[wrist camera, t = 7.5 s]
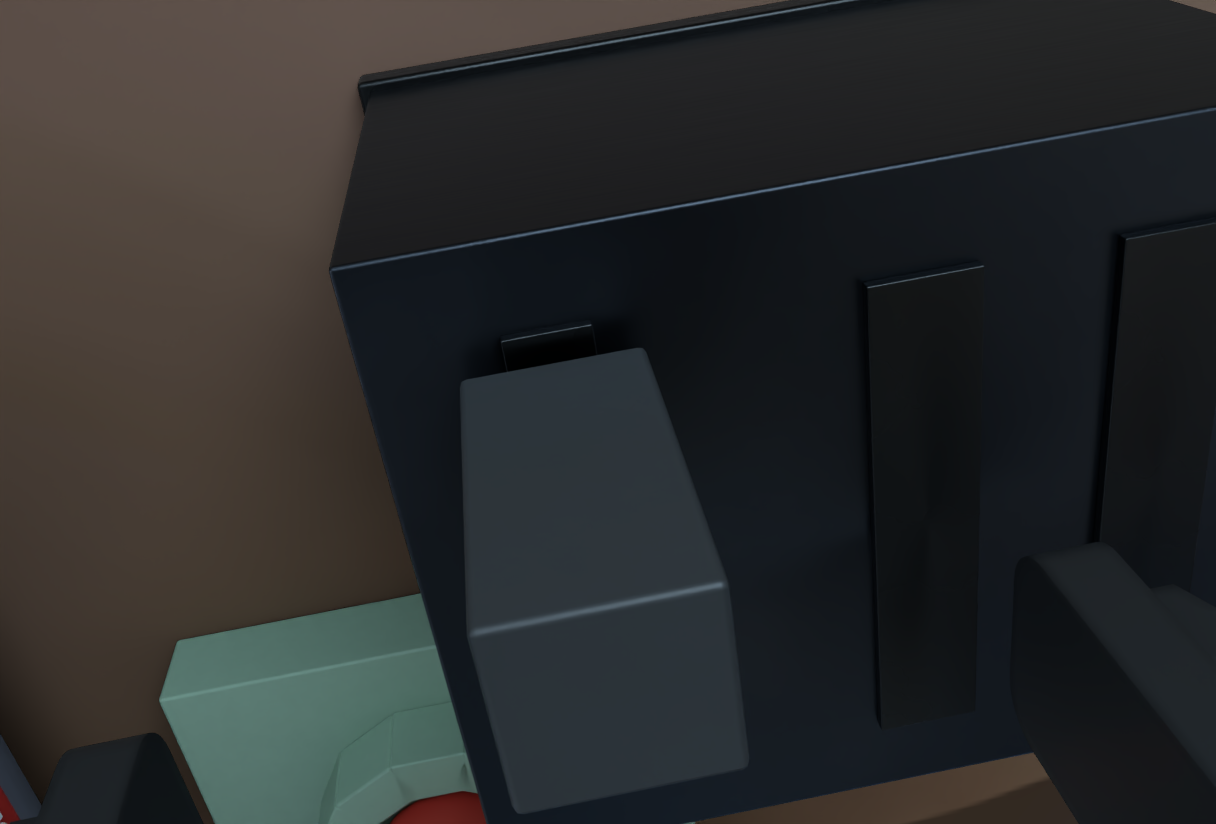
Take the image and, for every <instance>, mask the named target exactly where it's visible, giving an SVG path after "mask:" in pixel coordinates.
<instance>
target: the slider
mask: <svg viewBox="0 0 1216 824" xmlns="http://www.w3.org/2000/svg"><path fill="white" fill-rule="evenodd" d="M460 415H461V450H462V485H463V520H464V555H465V590H466V625H467V638H468V642H469V646H470V650H471V653H472V657H473V661H474V665H475V668H476V672H477V676H478V680H479V683H480V687H481V691H482V695H483V698H484V702H485V706H486V710H487V713H488V717H489V721H490V725H491V728H492V732H493V736H494V740H495V744H496V747H497V751H498V755H499V759H500V762H501V766H502V770H503V774H504V777H505V781H506V785H507V789H508V792H509V796H510V800H511V804H512V807H513V808H514V810H515V811H516V812H517V813H518V814H527V813H532V812H537V811H542V810H547V809H552V808H557V807H562V806H567V805H572V804H577V803H582V802H587V801H592V800H596V799H601V798H606V797H611V796H616V795H621V794H626V793H631V792H636V791H641V790H646V789H651V788H656V787H661V786H665V785H670V784H675V783H680V782H685V781H690V780H695V779H700V778H705V777H710V776H715V775H720V774H725V773H730V772H735V771H739V770H743V769H745V768H746V767H747V766H748V763H749V749H748V740H747V732H746V723H745V714H744V706H743V697H742V688H741V679H740V671H739V662H738V653H737V644H736V636H735V627H734V618H733V609H732V601H731V592H730V584H729V581H728V578H727V576H726V573H725V570H724V567H723V564H722V562H721V559H720V556H719V553H718V550H717V548H716V545H715V542H714V539H713V537H712V534H711V531H710V528H709V525H708V523H707V520H706V517H705V514H704V511H703V509H702V506H701V503H700V500H699V498H698V495H697V492H696V489H695V486H694V484H693V481H692V478H691V475H690V472H689V470H688V467H687V464H686V461H685V458H684V456H683V453H682V450H681V447H680V445H679V442H678V439H677V436H676V433H675V431H674V428H673V425H672V422H671V419H670V417H669V414H668V411H667V408H666V406H665V403H664V400H663V397H662V394H661V392H660V389H659V386H658V383H657V380H656V378H655V375H654V372H653V369H652V367H651V364H650V361H649V358H648V355H647V353H646V351H645V350H644V349H643V348H633V349H628V350H622V351H617V352H612V353H606V354H601V355H596V356H590V357H585V358H580V359H574V360H569V361H563V362H558V363H553V364H547V365H542V366H537V367H531V368H526V369H521V370H515V371H510V372H505V373H499V374H494V375H489V376H483V377H478V378H472V379H467V380H465V381H463V382H461V385H460Z"/></svg>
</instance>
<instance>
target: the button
mask: <svg viewBox="0 0 1216 824" xmlns="http://www.w3.org/2000/svg"><path fill="white" fill-rule="evenodd" d="M390 824H486V821H485V817H484V814H483V810H482V807H481V803H480V800H479V796H478V794H477V793H472V792H466V791H459V792H454V793H449V794H445V795H440V796H435V797H430V798H425V799H420V800H418V801H416V802H414V803H412V804H410V805H409V806H407V807H406V808H404V809H403V810H402V811H401V812H399V813H398V814H397V815H396V816H395V818H394V819H393V820H392V821H391V823H390Z"/></svg>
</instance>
